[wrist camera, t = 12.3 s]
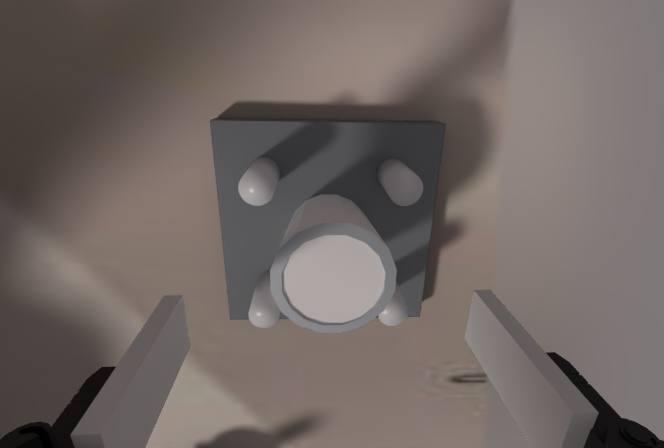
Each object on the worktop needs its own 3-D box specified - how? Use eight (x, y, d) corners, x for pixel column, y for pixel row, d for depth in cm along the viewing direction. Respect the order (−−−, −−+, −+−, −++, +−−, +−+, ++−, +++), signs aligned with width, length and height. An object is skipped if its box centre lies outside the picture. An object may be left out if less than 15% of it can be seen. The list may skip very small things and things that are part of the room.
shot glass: (387, 195, 25) (413, 236, 18) (362, 280, 27) (378, 343, 21) (289, 175, 24) (280, 210, 17) (272, 265, 26) (259, 325, 20)
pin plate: (234, 308, 29) (217, 356, 24) (215, 118, 24) (189, 127, 19) (414, 305, 30) (435, 351, 25) (437, 121, 25) (470, 132, 19)
